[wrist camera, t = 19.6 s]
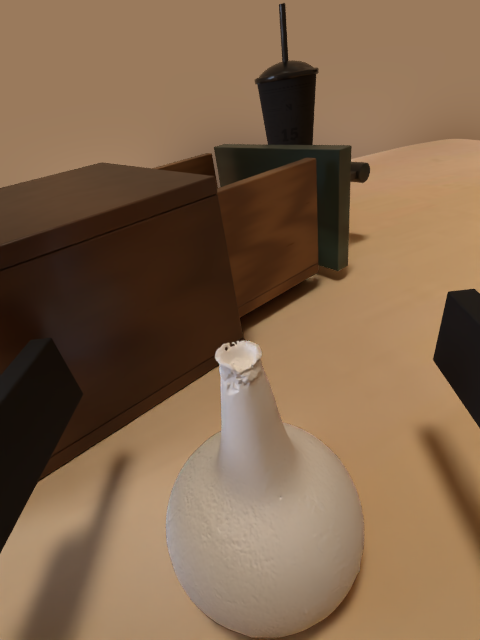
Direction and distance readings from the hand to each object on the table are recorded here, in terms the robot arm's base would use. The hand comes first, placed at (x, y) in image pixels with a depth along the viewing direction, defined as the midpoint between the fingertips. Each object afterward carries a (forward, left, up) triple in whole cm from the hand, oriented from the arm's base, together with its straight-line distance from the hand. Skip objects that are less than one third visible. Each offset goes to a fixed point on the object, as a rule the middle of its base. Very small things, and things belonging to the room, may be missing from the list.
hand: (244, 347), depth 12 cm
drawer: (-14, +11, -5) cm, 18 cm away
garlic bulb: (+2, -2, -6) cm, 7 cm away
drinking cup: (-29, +32, -6) cm, 43 cm away
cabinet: (-14, -4, -6) cm, 15 cm away
